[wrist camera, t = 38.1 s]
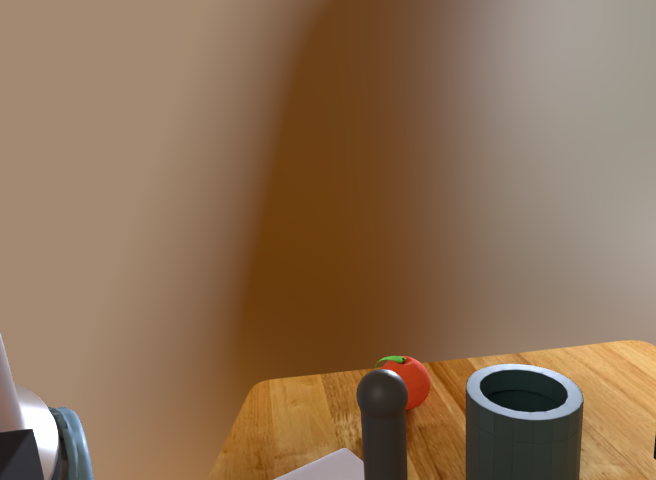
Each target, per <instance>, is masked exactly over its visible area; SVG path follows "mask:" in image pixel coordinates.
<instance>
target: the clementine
mask: <svg viewBox="0 0 656 480" xmlns="http://www.w3.org/2000/svg"><path fill="white" fill-rule="evenodd" d="M382 360H390V361H388V362H387V363H386V364H385V365H384V367H383V368H382V369H386V370H390V371H393V372H394V373H396V374H397V375H399V376H400V377H401V378H402V380H403V381H404V383H405V384H406V387H407V390H408V403H407V406H406V408H405V410H409V409H413V408H415V407H417V406H419V405H420V404H422V402H423V401H424V400H425V399H426V397H427V395H428V393H429V389H430V378H429V375H428V373H427V371H426V369H425V367H424V366H423V365H422V364H421V363H420V362H419V361H417V360H415V359H413V358H411V357H406V356H400V357H399V356H388V357H385V358H383V359H381V360H380V361H382ZM376 366H377V364H376Z"/></svg>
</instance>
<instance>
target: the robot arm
mask: <svg viewBox="0 0 656 480" xmlns="http://www.w3.org/2000/svg"><path fill="white" fill-rule="evenodd" d="M654 459H656V437H655V448H654ZM0 480H94V477H93V472H92V465H91V460H90V455H89V450H88V446H87V442H86V438H85V434H84V430H83V428H82V425H81V422H80V420H79V418H78V416H77V414H76V413H75V412H74V411H73V410H70V409H67V408H65V407H60V408H55V409H54V408H50V407H48V408H47V406H46V404H45V403H44V402H43V401H42V400H41V399H40V398H39V397H38V396H37V395H36V394H34V393H33V392H31V391H30V390H28V389H26V388H24V387H22V386H20V385H18V384H16V383H14V382H13V378H12V375H11V371H10V367H9V363H8V359H7V356H6V352H5V348H4V344H3V341H2V337H1V333H0Z"/></svg>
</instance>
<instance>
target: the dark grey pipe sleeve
mask: <svg viewBox="0 0 656 480" xmlns="http://www.w3.org/2000/svg"><path fill="white" fill-rule="evenodd" d="M582 418H583V396H582V391H581V390H580V389H579V388H578V386H577V385H576V384H575V383H574V382H573V381H571V380H570V379H568V378H567V377H565V376H563V375H562V374H559V373H557V372H554V371H551V370H549V369H545V368H541V367H536V366H532V365H531V366H530V365H522V364H500V365H495V366H490V367H486V368H483V369H481V370H478V371H476V372H474V373H473V374H472V375H471V377H470V378H469V379H468V380H467V384H466V479H467V480H579V471H580V453H581V436H582Z"/></svg>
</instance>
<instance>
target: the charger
mask: <svg viewBox="0 0 656 480" xmlns="http://www.w3.org/2000/svg"><path fill="white" fill-rule="evenodd" d="M274 480H364V462H363V461H362V460H361V459H359V458H358V457H357V456H356V455H355V454H354V453H352V452H351V451H350V450H348V449H347V448H342V449H340V450H338V451H335V452H333V453H331V454H329V455H327V456H324V457H322V458H320V459H318V460H316V461H313V462H311V463H309V464H307V465H305V466H302V467H300V468H298V469H296V470H294V471H291V472H289V473H287V474H285V475H283V476H280V477H278V478H276V479H274Z"/></svg>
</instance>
